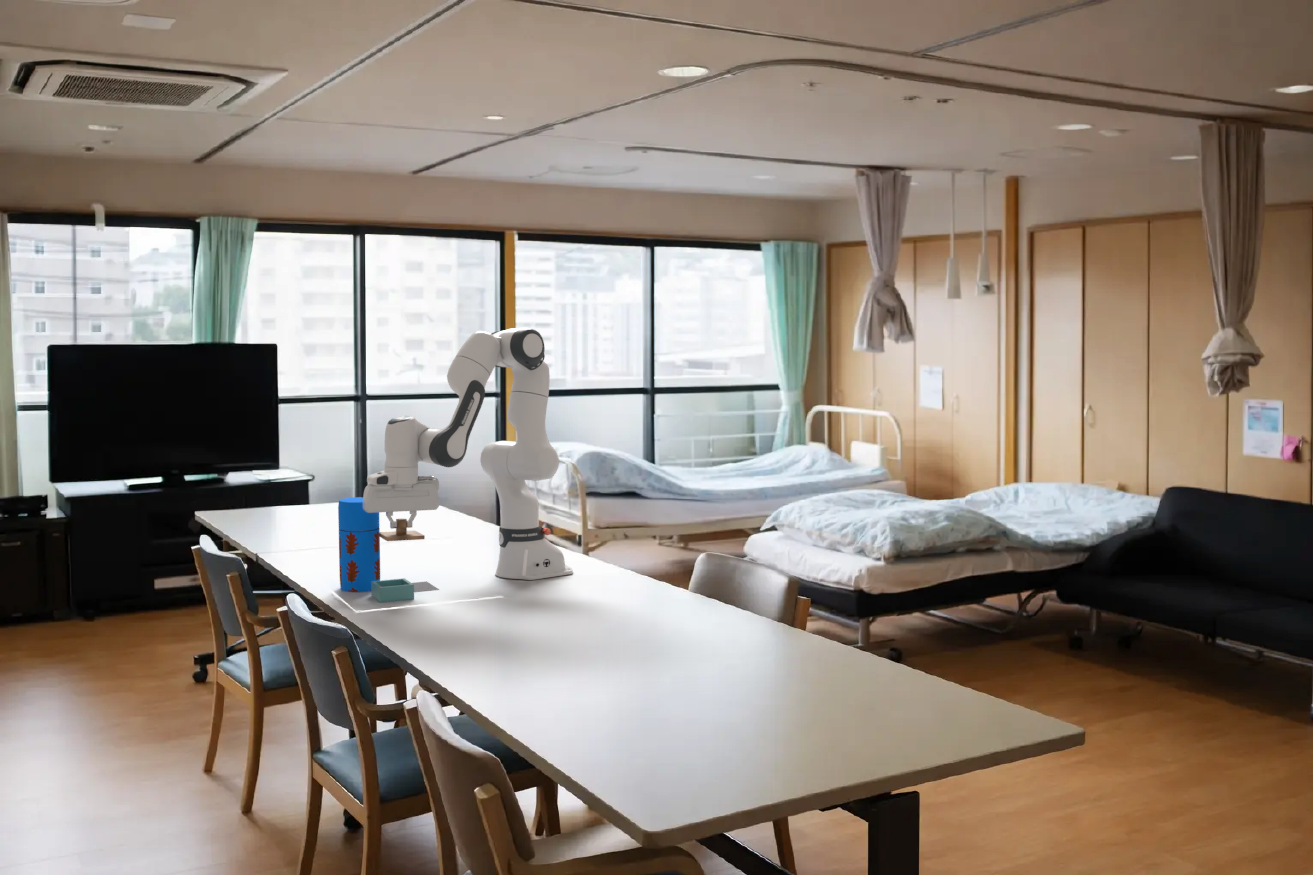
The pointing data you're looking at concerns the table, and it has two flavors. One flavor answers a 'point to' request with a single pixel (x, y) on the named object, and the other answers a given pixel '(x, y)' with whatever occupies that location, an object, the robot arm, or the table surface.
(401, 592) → the teal open box
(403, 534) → the lid
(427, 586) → the mat
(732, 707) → the table surface
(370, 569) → the thermos
